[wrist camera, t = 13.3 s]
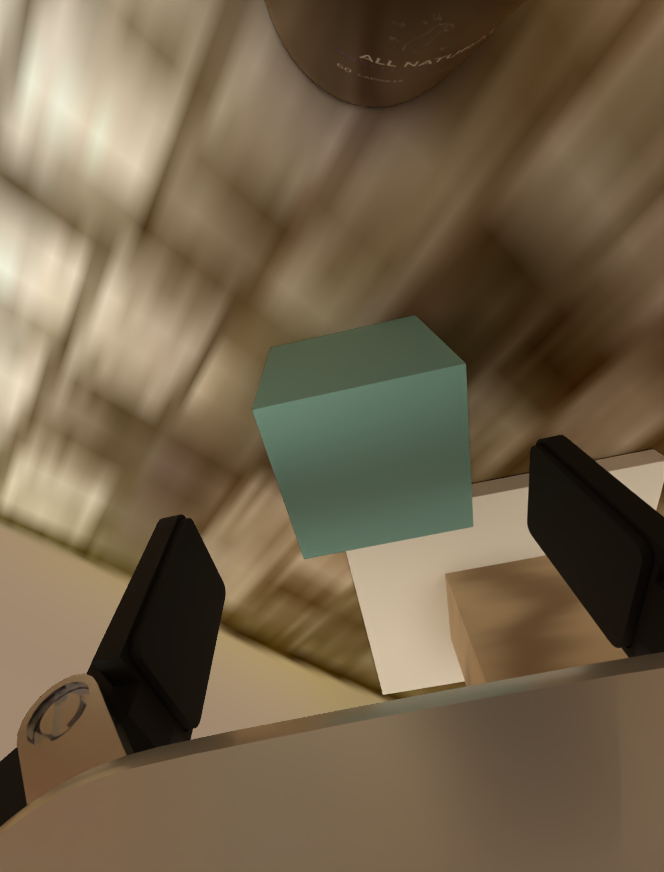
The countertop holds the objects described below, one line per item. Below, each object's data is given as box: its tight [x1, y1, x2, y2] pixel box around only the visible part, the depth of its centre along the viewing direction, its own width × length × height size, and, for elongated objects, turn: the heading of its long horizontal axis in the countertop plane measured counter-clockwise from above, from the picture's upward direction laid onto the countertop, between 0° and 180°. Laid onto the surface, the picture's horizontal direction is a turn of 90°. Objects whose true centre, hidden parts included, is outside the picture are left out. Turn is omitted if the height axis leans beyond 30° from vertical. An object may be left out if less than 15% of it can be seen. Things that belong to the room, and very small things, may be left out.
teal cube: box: [252, 315, 473, 559], centre depth 15 cm, size 6×6×6 cm
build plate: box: [346, 449, 664, 695], centre depth 23 cm, size 16×16×1 cm
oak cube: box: [445, 555, 629, 686], centre depth 20 cm, size 6×6×6 cm
